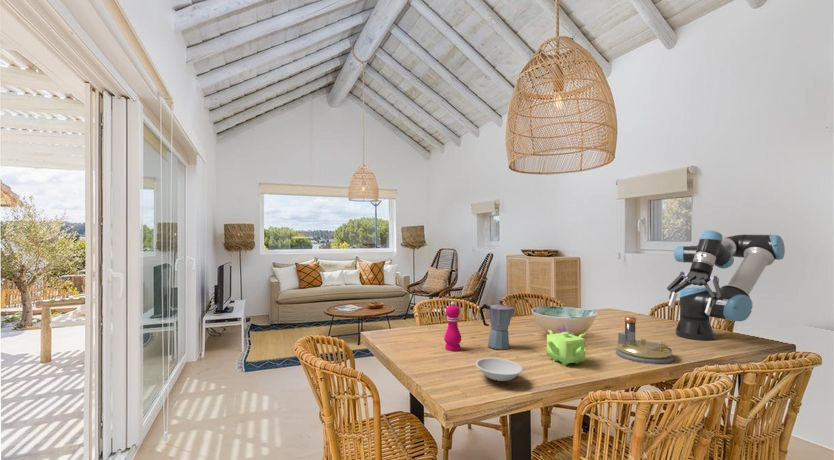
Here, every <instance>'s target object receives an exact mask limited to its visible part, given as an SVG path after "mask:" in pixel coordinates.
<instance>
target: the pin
mask: <svg viewBox="0 0 834 460" xmlns="http://www.w3.org/2000/svg"><path fill="white" fill-rule="evenodd" d="M636 323H637V317H635V316H629V315H627V316H624V334H625V335H626V340H627V331H630V332H635V333H636Z"/></svg>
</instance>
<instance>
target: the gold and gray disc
mask: <svg viewBox="0 0 834 460" xmlns="http://www.w3.org/2000/svg"><path fill="white" fill-rule="evenodd" d="M617 336H618V337H617V338H618V341H617V343H616V345H617V346H616V348H617V349H618V351H620V352H622V353H624V354H627V355H630V356H634V357H640V358H647V359H667V358H670V357H671V356H672V355H673V354H672V353H673V351H672V348H670V347H669V345H668V344H667V343H665V342H664V343H657V342H654V341H653V342H652V341H648V340H647V341H646V338H641V339H640V340H638V339H637V340H636V331H635V332H630V331H627V340H626V335H625V333H620V332H619V333H618V335H617Z"/></svg>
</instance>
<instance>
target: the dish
mask: <svg viewBox="0 0 834 460" xmlns="http://www.w3.org/2000/svg"><path fill="white" fill-rule="evenodd" d="M475 366H476V367H477V369H479V371H480V372H481V373H482V374H483V375H484V376H486V377H487V378H488V379H491V380H493V381H496V380H497V381H496V382H507V381H511V380H513V379H515V378H516V377H517V376H519V375H520V374H521V373H523V370H524V369H523V366H522V365H520V364H519V363H517V362H515V361H513V360H509V359H506V358H500V357H483V358H479V359H477V360H476V361H475Z"/></svg>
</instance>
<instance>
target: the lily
mask: <svg viewBox="0 0 834 460" xmlns="http://www.w3.org/2000/svg"><path fill="white" fill-rule="evenodd" d="M561 323H562V325H561V326H558V325H557V324H554V327H555V328H556V330H557V331H558V333H562V332H568V333H569V334H571V335H574V332H572V331H569V328H568V325H567V323H566V322H565V320H563V321H562V322H561Z"/></svg>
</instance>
